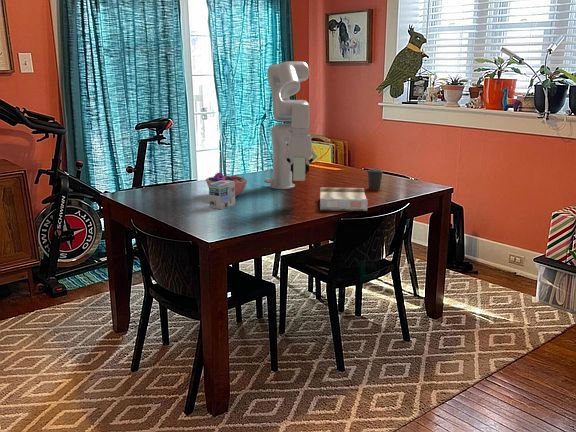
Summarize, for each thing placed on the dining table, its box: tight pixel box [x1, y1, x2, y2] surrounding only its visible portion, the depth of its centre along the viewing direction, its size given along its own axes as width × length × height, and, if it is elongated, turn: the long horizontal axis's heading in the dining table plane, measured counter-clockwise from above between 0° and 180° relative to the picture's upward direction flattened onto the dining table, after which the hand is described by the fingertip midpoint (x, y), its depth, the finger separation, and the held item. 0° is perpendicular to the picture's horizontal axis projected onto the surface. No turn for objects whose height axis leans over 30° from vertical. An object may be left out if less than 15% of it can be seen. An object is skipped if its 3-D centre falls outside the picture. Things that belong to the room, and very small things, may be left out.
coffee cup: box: [366, 168, 384, 191], centre depth 286 cm, size 8×8×10 cm
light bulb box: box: [208, 180, 236, 210], centre depth 253 cm, size 11×7×11 cm, turn 148°
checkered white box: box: [319, 187, 369, 212], centre depth 255 cm, size 20×22×6 cm
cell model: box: [205, 171, 248, 197], centre depth 270 cm, size 17×20×11 cm
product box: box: [292, 157, 307, 182], centre depth 250 cm, size 5×8×10 cm, turn 177°
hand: (299, 172), depth 251 cm, fingers closed on product box, 5 cm apart
